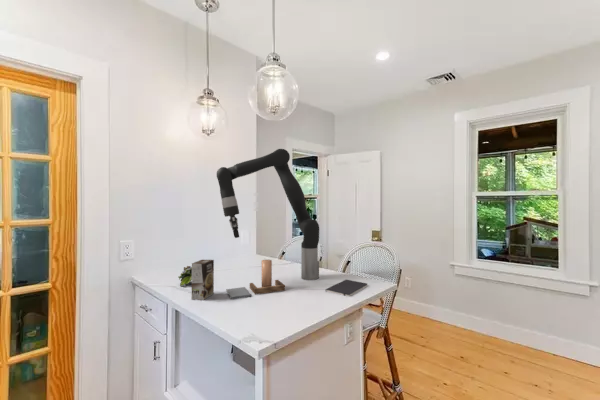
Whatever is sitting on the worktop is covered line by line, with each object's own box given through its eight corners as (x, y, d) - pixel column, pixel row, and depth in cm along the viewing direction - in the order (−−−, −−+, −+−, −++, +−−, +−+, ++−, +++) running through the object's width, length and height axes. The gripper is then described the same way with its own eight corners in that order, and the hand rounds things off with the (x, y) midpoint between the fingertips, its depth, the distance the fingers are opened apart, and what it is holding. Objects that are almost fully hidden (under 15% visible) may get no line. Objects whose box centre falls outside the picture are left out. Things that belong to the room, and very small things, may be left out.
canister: (269, 286, 146) (269, 259, 146) (273, 289, 141) (273, 261, 141) (260, 287, 144) (260, 260, 144) (263, 290, 139) (263, 262, 139)
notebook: (346, 282, 156) (325, 292, 139) (346, 279, 156) (325, 289, 139) (368, 286, 148) (349, 298, 131) (368, 283, 148) (349, 294, 131)
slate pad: (244, 288, 142) (244, 286, 142) (250, 296, 131) (250, 294, 131) (226, 291, 139) (226, 289, 139) (230, 299, 128) (230, 297, 128)
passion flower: (186, 292, 153) (193, 271, 160) (202, 291, 149) (208, 269, 156) (171, 285, 145) (179, 263, 152) (186, 283, 141) (194, 261, 148)
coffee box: (204, 300, 126) (204, 263, 126) (190, 299, 128) (190, 263, 127) (214, 293, 135) (214, 259, 135) (201, 292, 136) (201, 258, 136)
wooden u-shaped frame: (277, 284, 150) (277, 279, 150) (285, 290, 140) (285, 285, 140) (249, 288, 144) (249, 283, 144) (255, 294, 134) (255, 289, 134)
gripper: (238, 203, 141) (245, 236, 141) (237, 205, 155) (243, 235, 154) (222, 207, 139) (229, 239, 139) (222, 208, 153) (229, 238, 152)
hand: (236, 237), depth 147 cm, fingers open, 8 cm apart
